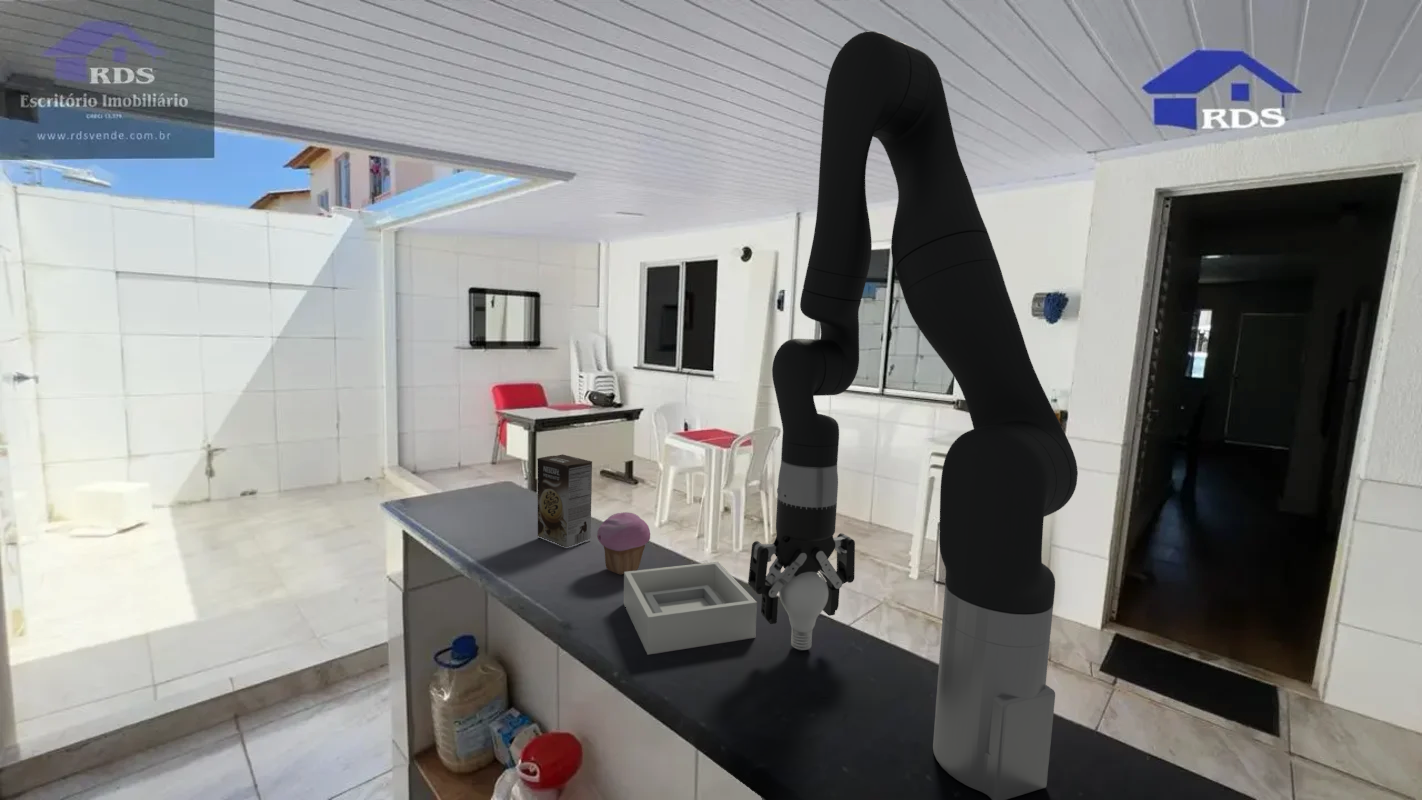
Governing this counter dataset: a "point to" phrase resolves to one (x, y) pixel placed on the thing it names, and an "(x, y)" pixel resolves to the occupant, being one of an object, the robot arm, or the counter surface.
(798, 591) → the lightbulb
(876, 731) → the counter surface
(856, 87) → the robot arm
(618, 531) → the cupcake
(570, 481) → the coffee box
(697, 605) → the walled box
